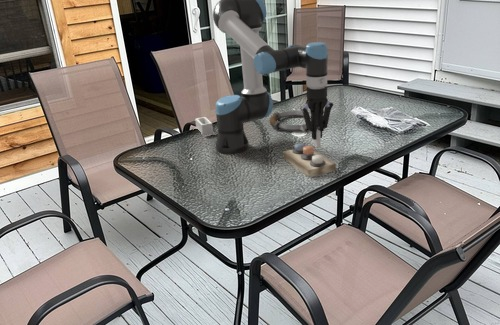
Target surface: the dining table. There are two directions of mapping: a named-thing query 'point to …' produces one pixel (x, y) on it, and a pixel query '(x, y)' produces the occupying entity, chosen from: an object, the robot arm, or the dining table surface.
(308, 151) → the button terracotta
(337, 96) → the dining table surface
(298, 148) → the button slate
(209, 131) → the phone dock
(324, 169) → the button panel
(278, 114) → the spiked ring
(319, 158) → the button cream
